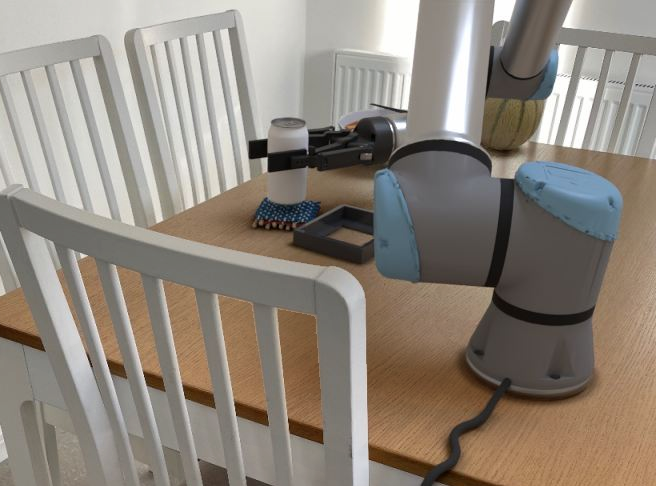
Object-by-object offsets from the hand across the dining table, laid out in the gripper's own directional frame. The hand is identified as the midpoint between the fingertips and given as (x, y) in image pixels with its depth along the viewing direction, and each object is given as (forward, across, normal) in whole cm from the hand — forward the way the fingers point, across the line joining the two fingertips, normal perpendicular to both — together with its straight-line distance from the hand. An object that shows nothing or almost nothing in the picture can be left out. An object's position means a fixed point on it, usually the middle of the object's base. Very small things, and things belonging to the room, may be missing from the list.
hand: (259, 156), depth 130 cm
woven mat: (-5, 0, -11) cm, 12 cm away
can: (-5, 0, -8) cm, 9 cm away
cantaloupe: (-65, +20, -11) cm, 69 cm away
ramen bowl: (-39, +20, -11) cm, 45 cm away
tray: (-11, -12, -11) cm, 19 cm away
